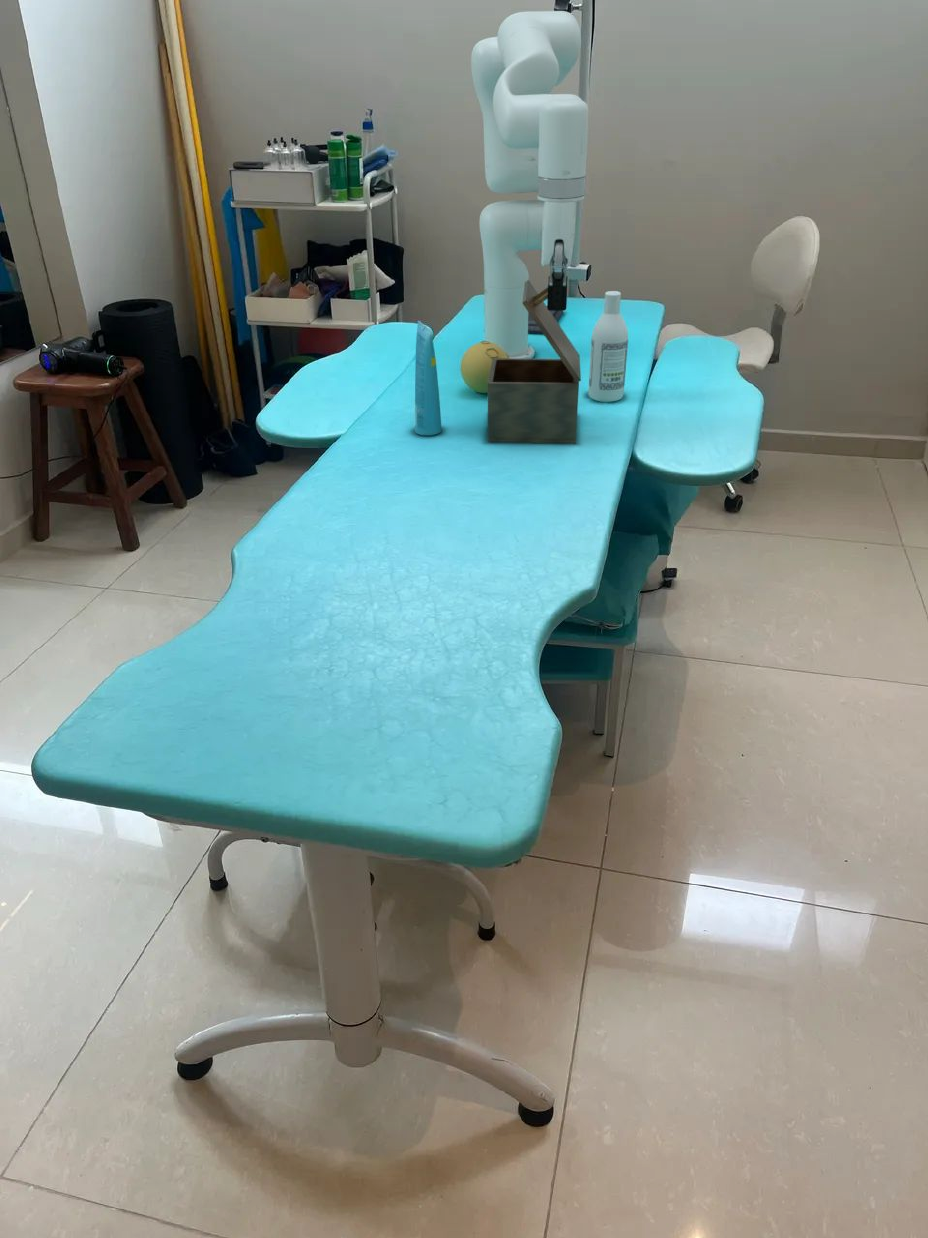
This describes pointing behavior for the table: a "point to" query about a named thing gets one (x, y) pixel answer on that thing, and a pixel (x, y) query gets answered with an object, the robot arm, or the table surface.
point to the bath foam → (608, 352)
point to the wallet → (534, 327)
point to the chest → (531, 401)
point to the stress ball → (479, 364)
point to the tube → (426, 385)
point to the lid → (551, 328)
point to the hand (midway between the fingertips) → (557, 303)
